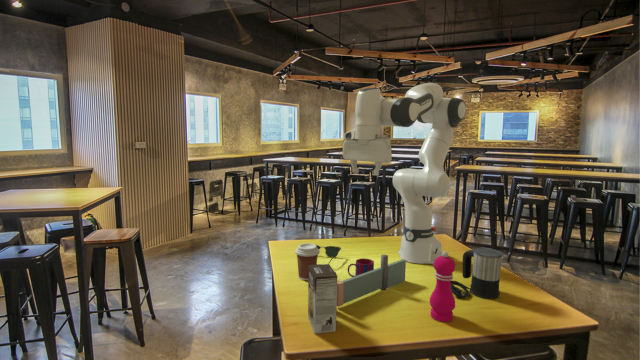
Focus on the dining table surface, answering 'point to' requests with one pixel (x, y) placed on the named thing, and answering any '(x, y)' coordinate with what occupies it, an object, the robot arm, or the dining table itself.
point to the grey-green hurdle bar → (359, 286)
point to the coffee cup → (306, 258)
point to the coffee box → (322, 298)
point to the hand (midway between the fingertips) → (365, 174)
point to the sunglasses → (331, 251)
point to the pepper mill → (443, 289)
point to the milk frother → (480, 273)
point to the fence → (392, 272)
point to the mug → (362, 266)
